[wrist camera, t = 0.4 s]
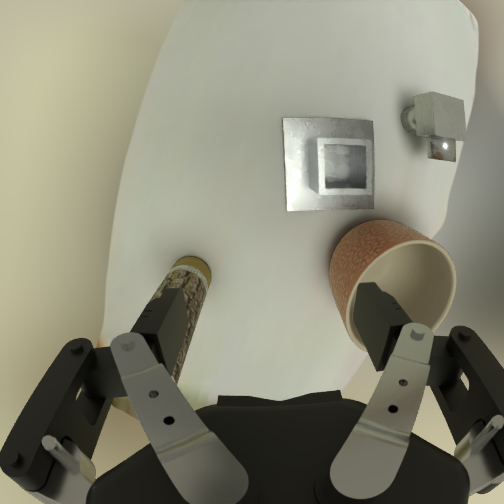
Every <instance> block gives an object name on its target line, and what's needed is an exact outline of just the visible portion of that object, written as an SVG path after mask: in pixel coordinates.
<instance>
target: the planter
mask: <svg viewBox="0 0 504 504" xmlns="http://www.w3.org/2000/svg"><path fill="white" fill-rule="evenodd" d="M329 279H330V285H331V290H332V294H333V297H334V300H335V302H336V305H337V308H338V310H339V312H340V315H341V318H342V320H343V323H344V325H345V328H346V330H347V332H348V334H349V336H350V338H351V340H352V341H353V342H354V343H355V344H356V345H357V346H358V347H359V348H360V349H362V350H364V351H366V352H367V349H366V347H365V345H364V343H363V341H362V339H361V337H360V335H359V333H358V330H357V328H356V326H355V324H354V319H353V312H354V305H355V299H356V292H357V286H358V284H359V283H364V282H375V283H376V284H377V285H378V287H379V288H380V289H381V290H382V292H383V291H385V292H387V293H388V294H390V295H392V296H393V297H394V298H395V299H396V301H397V302H398V304H399V305H400V306H401V307H402V309H403V310H404V311H405V312H406V314H407V315H408V316H409V317H410V319H411V320H412V321H413V323H420V324H423V325H426V326H427V327H429V328H430V329H431V330H432V332H434V331H435V330H436V328H437V327H438V326H439V325H440V324H441V322H442V320H443V319H444V318H445V316H446V315H447V313H448V311H449V309H450V307H451V304H452V302H453V299H454V295H455V290H456V270H455V266H454V263H453V260H452V258H451V256H450V255H449V253H448V252H447V251H446V250H445V249H444V248H443V247H442V246H440V245H439V244H438V243H436V242H435V241H433V240H431V239H429V238H428V237H426V236H424V235H422V234H420V233H418V232H417V231H415V230H413V229H411V228H409V227H407V226H405V225H402V224H400V223H397V222H393V221H389V220H372V221H368V222H365V223H362V224H360V225H358V226H356V227H355V228H353V229H352V230H350V231H349V232H348V233H347V234H346V235H345V236H344V237H343V238H342V239H341V240H340V242H339V243H338V245H337V246H336V248H335V250H334V253H333V255H332V258H331V262H330V268H329Z"/></svg>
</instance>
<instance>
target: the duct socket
mask: <svg viewBox="0 0 504 504" xmlns="http://www.w3.org/2000/svg"><path fill="white" fill-rule="evenodd" d="M282 124H283V141H284V160H285V182H286V209H287V211H301V210H334V209H374V132H373V121H368V120H355V119H338V118H282Z"/></svg>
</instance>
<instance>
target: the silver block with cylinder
mask: <svg viewBox="0 0 504 504" xmlns="http://www.w3.org/2000/svg"><path fill="white" fill-rule="evenodd" d="M414 105H415V107H412V108H407V109H405V110H404V111H403V112H402V115H401V122H402V125H403V127H404V128H405V129H406V130H407V131H408V132H410V133H416V135H417V136H424V137H427V141H428V158H430V159H438V160H445V161H452V162H456V142H455V141H466V126H465V112H464V102H463V100H461V99H457V98H454V97H451V96H447V95H444V94H440V93H436V92H428V93H424V94H420V95H416V96H414Z"/></svg>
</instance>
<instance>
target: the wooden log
mask: <svg viewBox="0 0 504 504" xmlns="http://www.w3.org/2000/svg"><path fill="white" fill-rule="evenodd" d="M210 281H211V273H210V270H209V268H208V266H207V265H206V264H205V263H204V262H203V261H202V260H200V259H198V258H195V257H184V258H181V259H180V260H178V261H177V262H176V263H175V264H174V266H173V267H172V269H171V270H170V272H169V273H168V274H167V276H166V277H165V279H164V280H163V282H162V283H161V285H160V286H159V288H158V289H157V291H156V292H155V294H154V295H153V297H152V298H151V300H150V301H149V302H151V301H152V300H153V299H155V298H160V296H161V295H162V293H163V291H164V290H165V288H182V289H183V292H184V297H185V303H186V309H187V315H188V329H187V332H186V335H185V338H184V341H183V344H182V346H181V349H180V352H179V355H178V358H177V361H176V364H175V367H174V370H173V373H172V376H171V378H172V379H173V381H174V382H175V384H176V385H177V383H178V380H179V377H180V374H181V370H182V367H183V364H184V361H185V358H186V355H187V351H188V348H189V345H190V342H191V339H192V336H193V333H194V330H195V327H196V324H197V321H198V318H199V315H200V312H201V309H202V306H203V303H204V300H205V297H206V294H207V291H208V288H209V285H210ZM143 311H144V310H143Z"/></svg>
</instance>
